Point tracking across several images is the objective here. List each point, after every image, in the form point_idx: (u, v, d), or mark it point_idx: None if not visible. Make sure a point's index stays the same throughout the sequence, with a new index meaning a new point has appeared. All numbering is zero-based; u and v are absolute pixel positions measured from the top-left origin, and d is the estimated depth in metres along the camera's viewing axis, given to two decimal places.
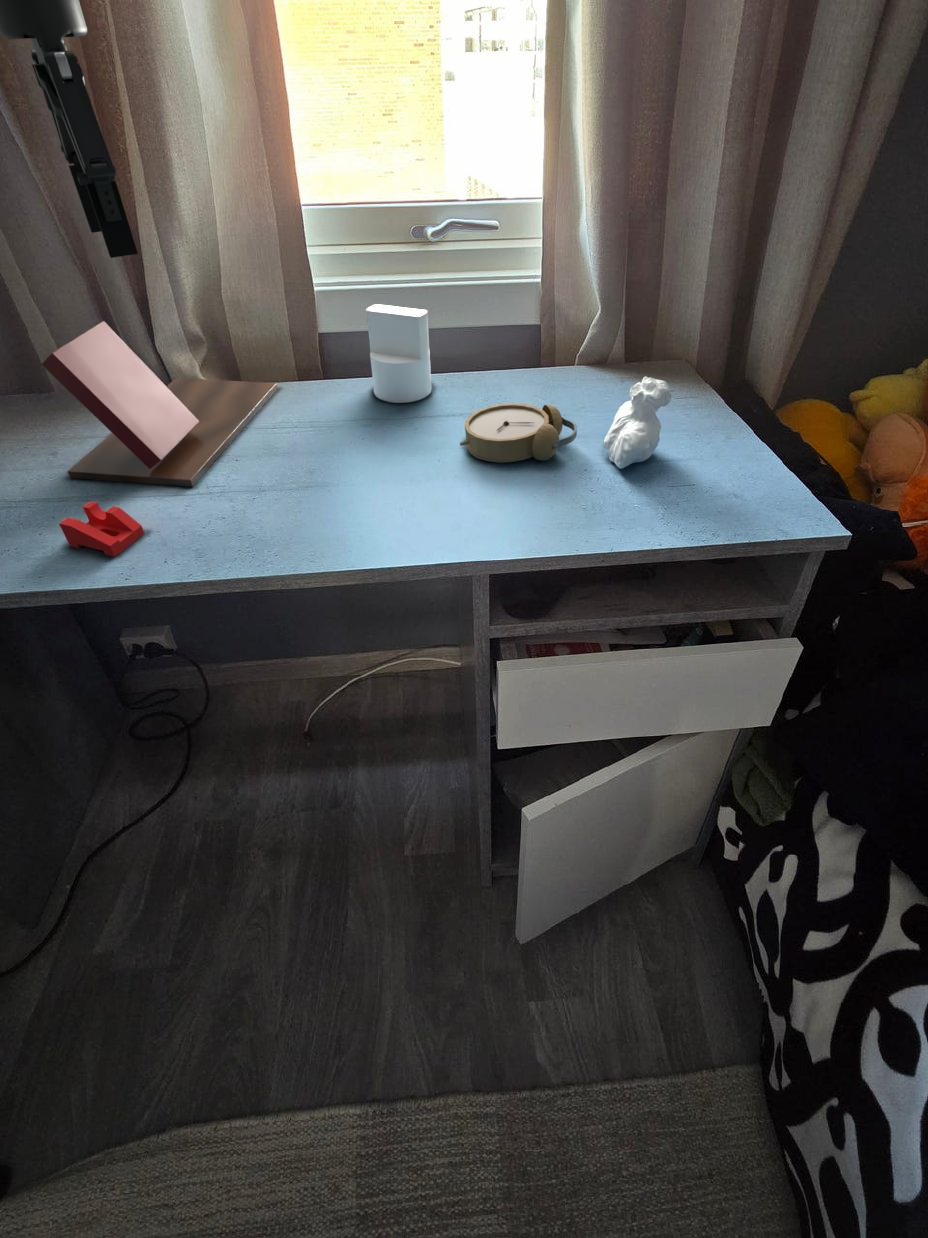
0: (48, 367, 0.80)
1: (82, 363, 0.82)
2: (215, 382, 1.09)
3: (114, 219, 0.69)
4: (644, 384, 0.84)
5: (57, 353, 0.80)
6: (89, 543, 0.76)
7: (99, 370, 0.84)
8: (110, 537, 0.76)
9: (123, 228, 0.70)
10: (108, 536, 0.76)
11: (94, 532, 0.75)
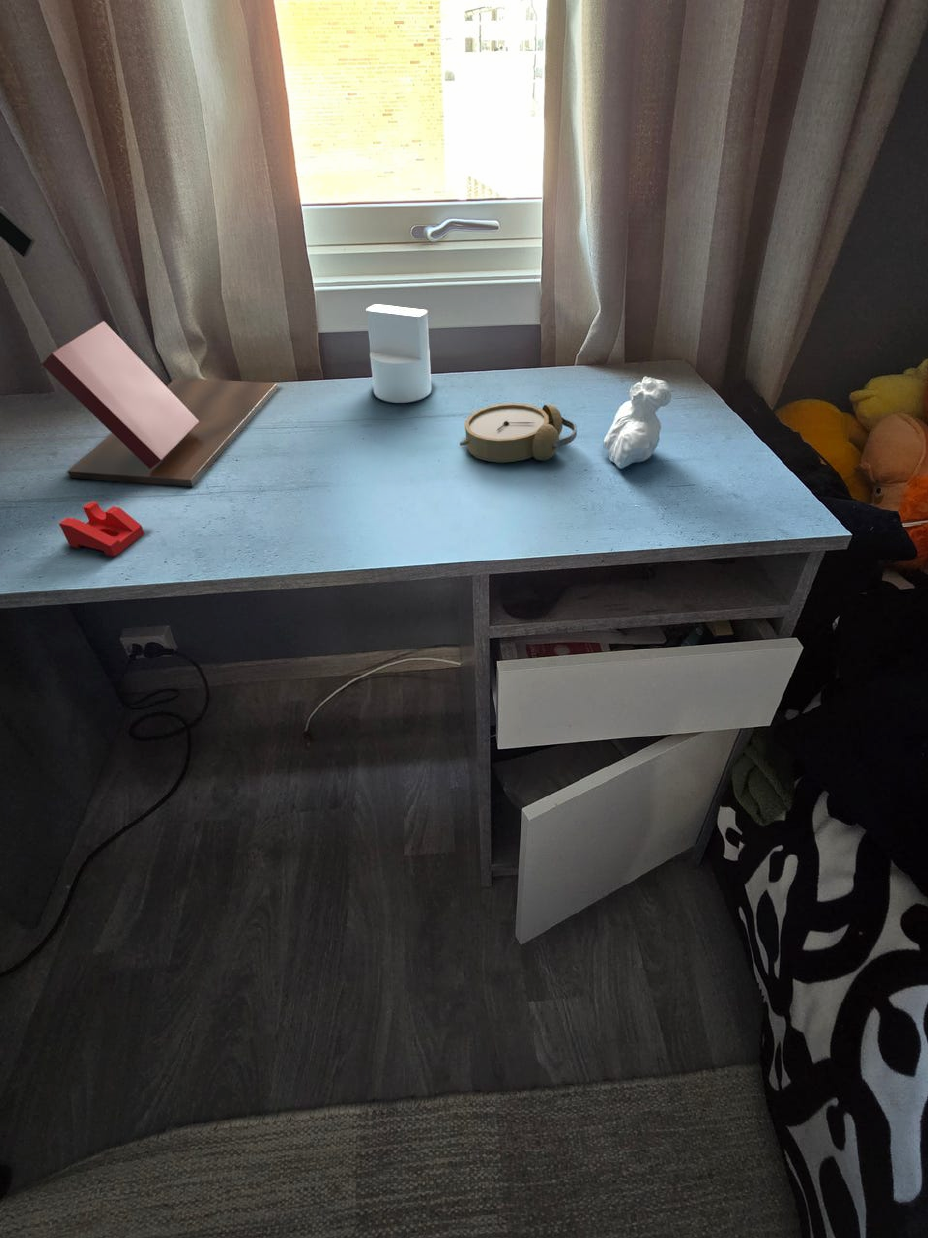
0: (48, 367, 0.80)
1: (82, 363, 0.82)
2: (215, 382, 1.09)
3: None
4: (644, 384, 0.84)
5: (57, 353, 0.80)
6: (89, 543, 0.76)
7: (99, 370, 0.84)
8: (110, 537, 0.76)
9: None
10: (108, 536, 0.76)
11: (94, 532, 0.75)
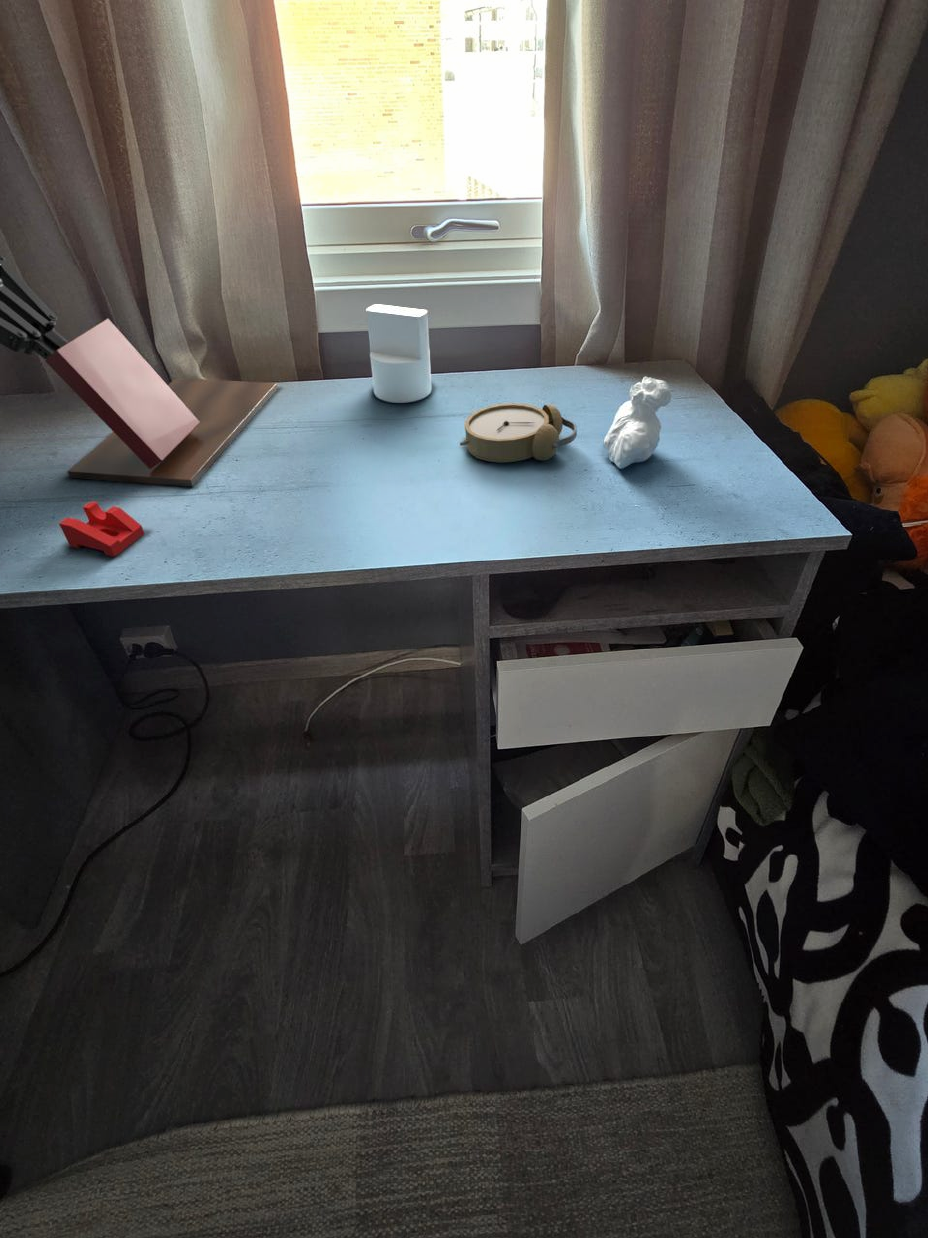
0: (51, 364, 0.80)
1: (86, 361, 0.82)
2: (215, 382, 1.09)
3: None
4: (644, 384, 0.84)
5: (61, 350, 0.79)
6: (89, 543, 0.76)
7: (102, 369, 0.84)
8: (110, 537, 0.76)
9: None
10: (108, 536, 0.76)
11: (94, 532, 0.75)
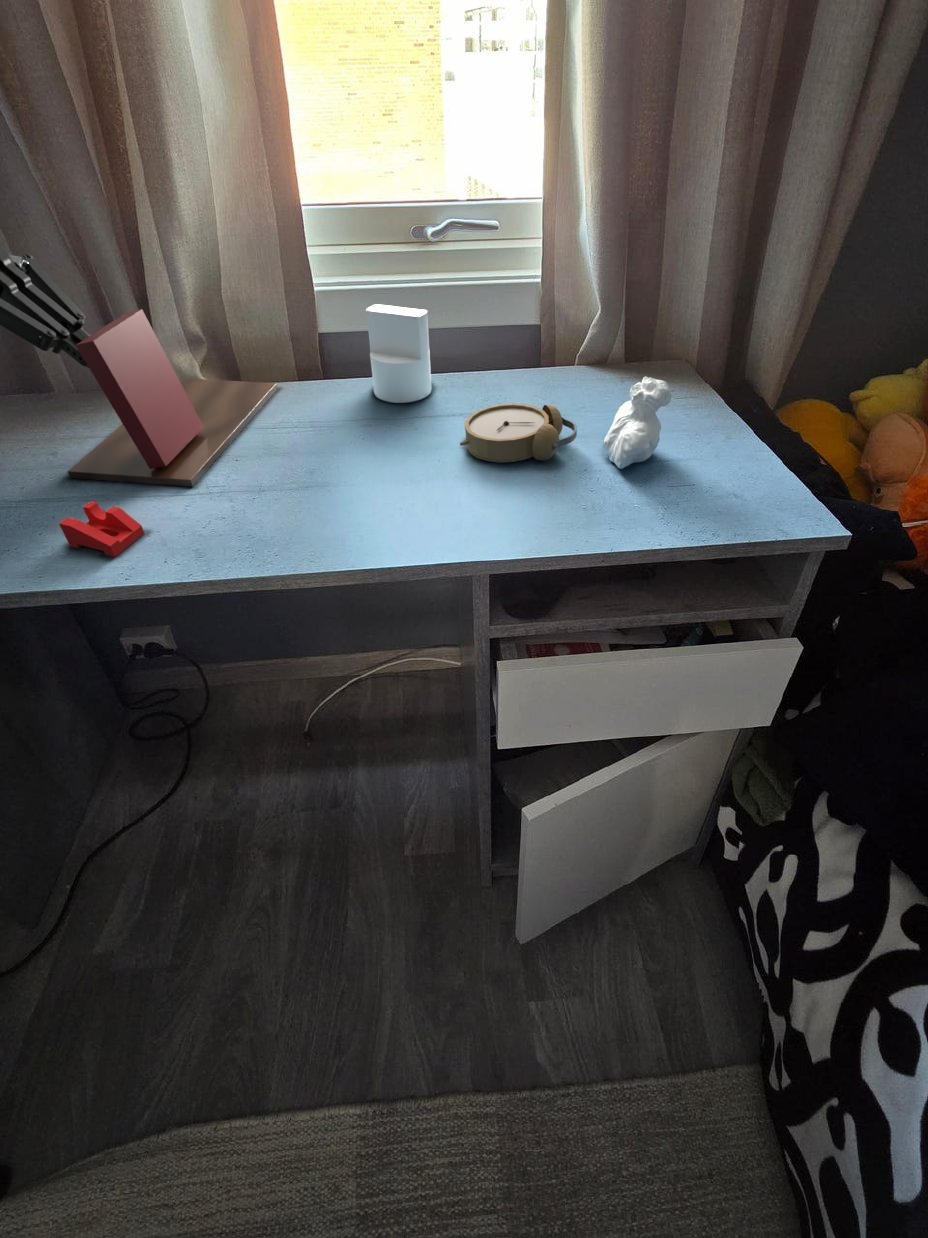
0: (82, 350, 0.78)
1: (117, 355, 0.81)
2: (215, 382, 1.09)
3: None
4: (644, 384, 0.84)
5: (97, 341, 0.78)
6: (89, 543, 0.76)
7: (129, 364, 0.83)
8: (110, 537, 0.76)
9: None
10: (108, 536, 0.76)
11: (94, 532, 0.75)
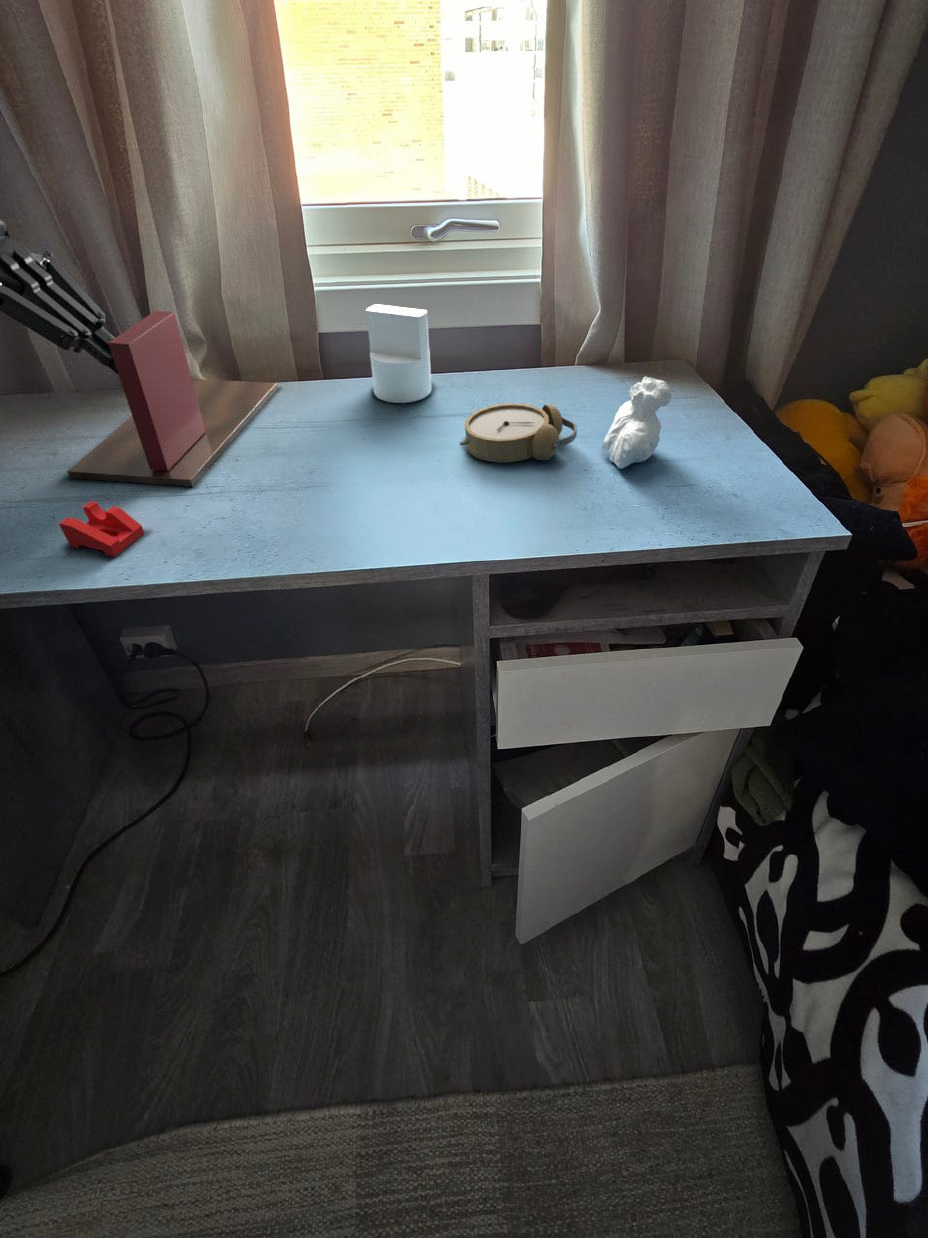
0: (113, 349, 0.78)
1: (146, 359, 0.80)
2: (215, 382, 1.09)
3: (108, 362, 0.83)
4: (644, 384, 0.84)
5: (132, 345, 0.78)
6: (89, 543, 0.76)
7: (155, 368, 0.82)
8: (110, 537, 0.76)
9: None
10: (108, 536, 0.76)
11: (94, 532, 0.75)
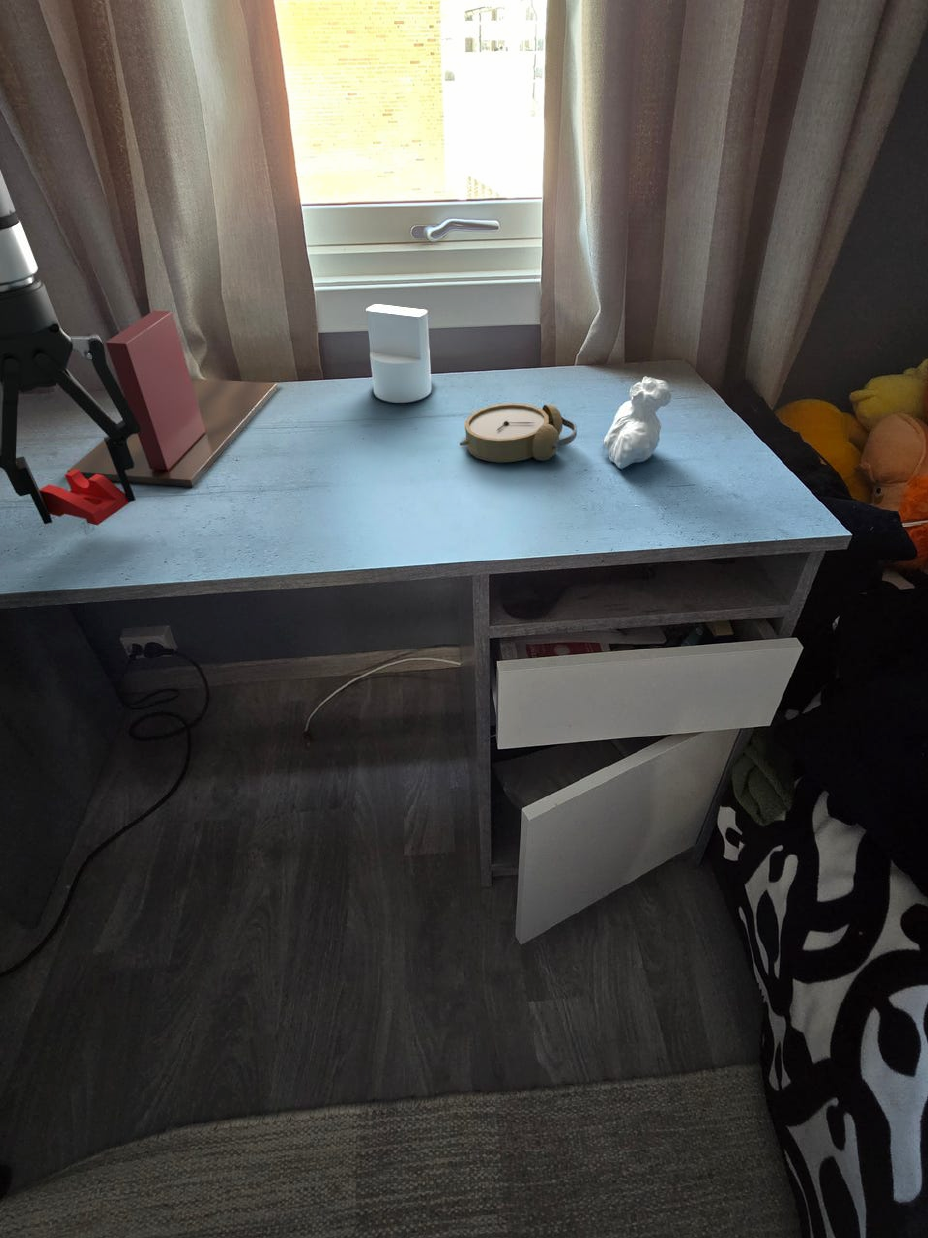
0: (111, 349, 0.78)
1: (144, 358, 0.80)
2: (215, 382, 1.09)
3: None
4: (644, 384, 0.84)
5: (129, 344, 0.78)
6: (70, 511, 0.73)
7: (153, 368, 0.82)
8: (92, 505, 0.72)
9: None
10: (90, 504, 0.72)
11: (76, 499, 0.72)
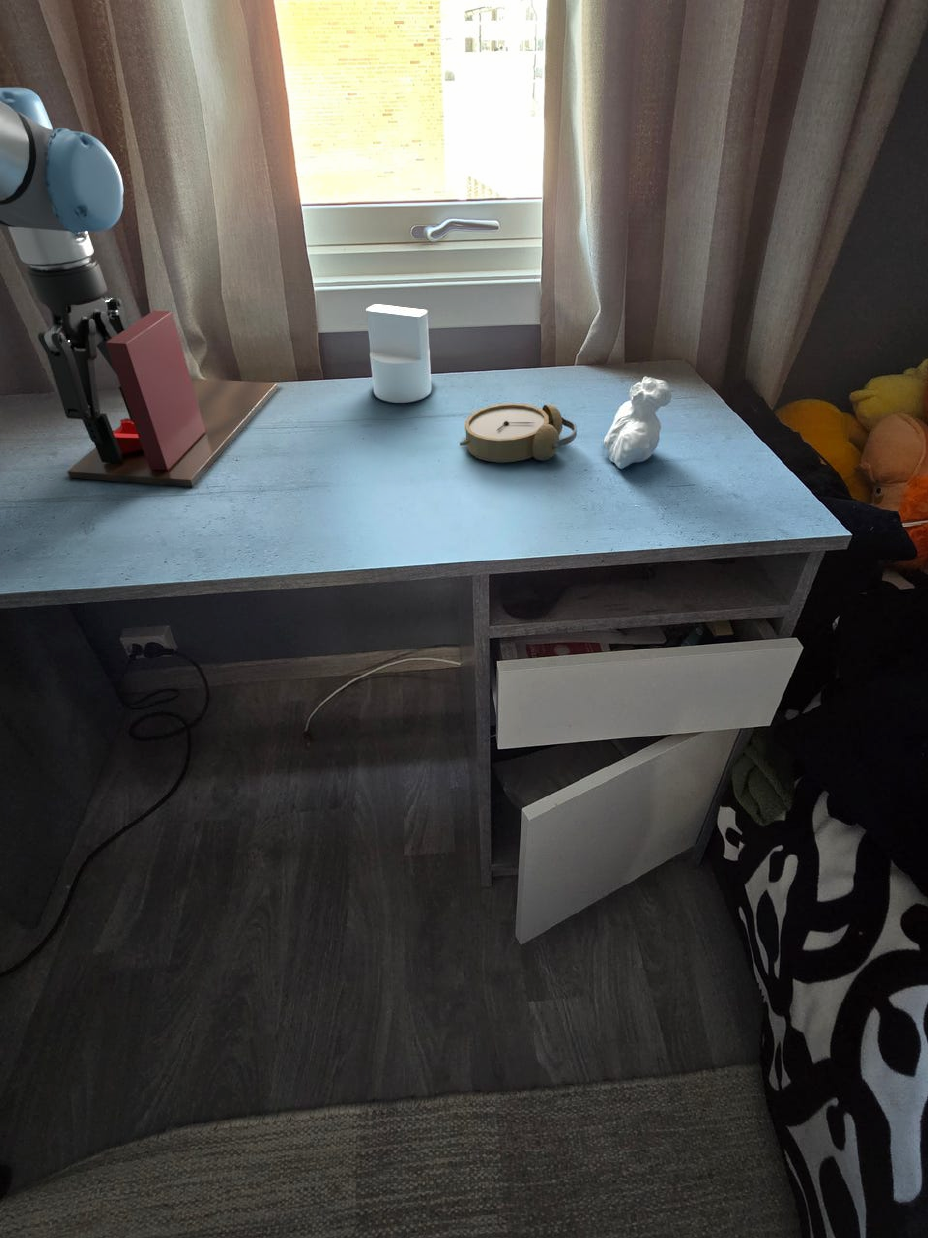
0: (111, 349, 0.78)
1: (144, 358, 0.80)
2: (215, 382, 1.09)
3: (97, 441, 0.86)
4: (644, 384, 0.84)
5: (129, 344, 0.78)
6: (132, 447, 0.91)
7: (153, 368, 0.82)
8: None
9: (109, 446, 0.88)
10: None
11: (133, 435, 0.90)
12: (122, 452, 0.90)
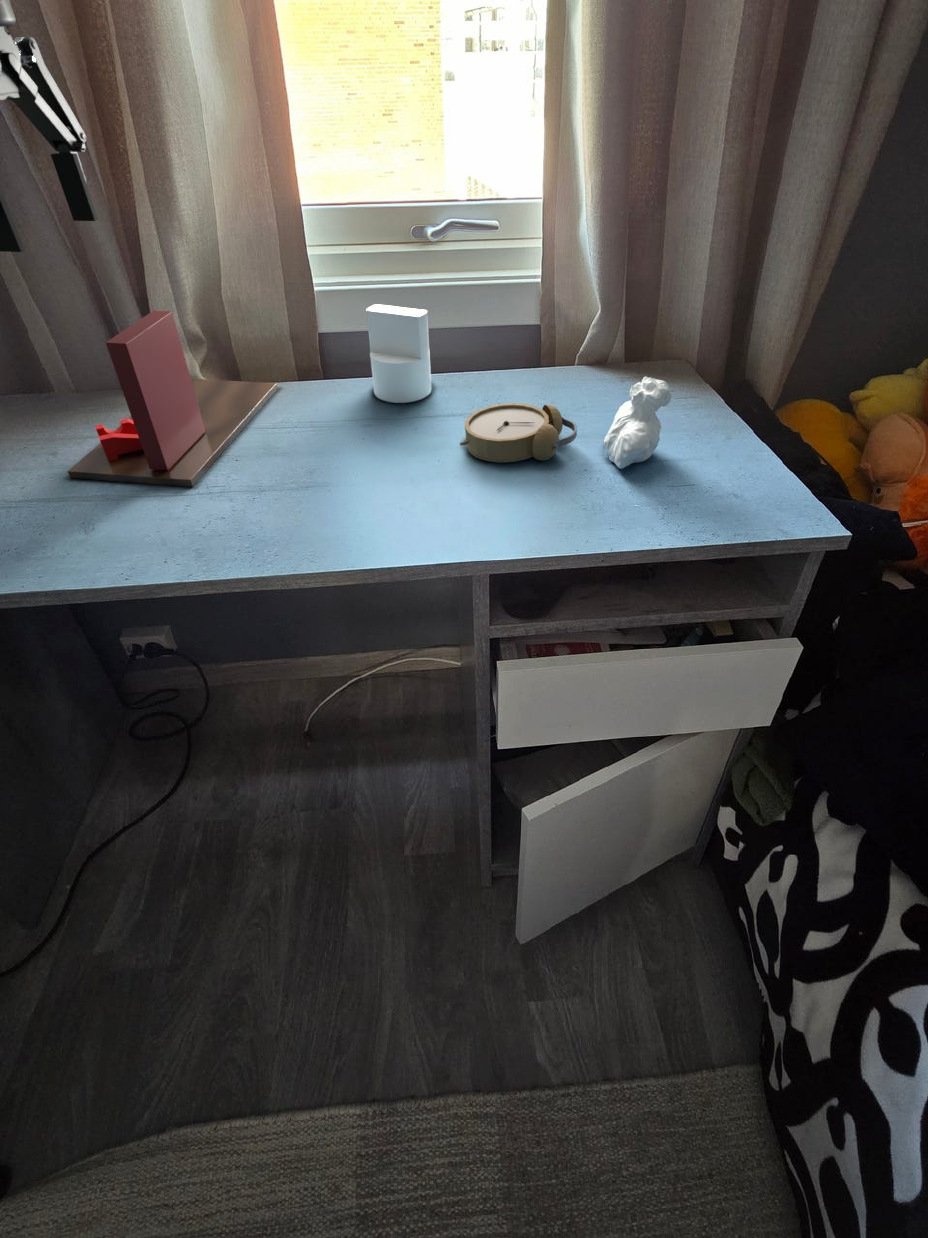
0: (111, 349, 0.78)
1: (144, 358, 0.80)
2: (215, 382, 1.09)
3: None
4: (644, 384, 0.84)
5: (129, 344, 0.78)
6: (132, 447, 0.91)
7: (153, 368, 0.82)
8: None
9: (4, 224, 0.69)
10: None
11: (133, 436, 0.90)
12: (122, 452, 0.90)
